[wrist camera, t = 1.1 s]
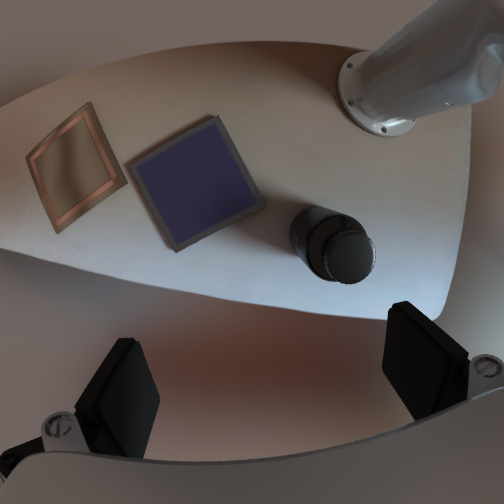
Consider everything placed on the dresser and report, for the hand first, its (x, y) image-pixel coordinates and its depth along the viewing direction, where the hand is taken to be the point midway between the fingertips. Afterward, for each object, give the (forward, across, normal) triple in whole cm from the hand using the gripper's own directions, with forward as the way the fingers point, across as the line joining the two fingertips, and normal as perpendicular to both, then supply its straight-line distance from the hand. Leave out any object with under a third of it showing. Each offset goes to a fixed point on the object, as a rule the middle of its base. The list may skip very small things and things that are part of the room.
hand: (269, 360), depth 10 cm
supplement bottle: (+26, -8, +1) cm, 27 cm away
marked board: (+26, +22, -12) cm, 36 cm away
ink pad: (+26, +5, -6) cm, 27 cm away
